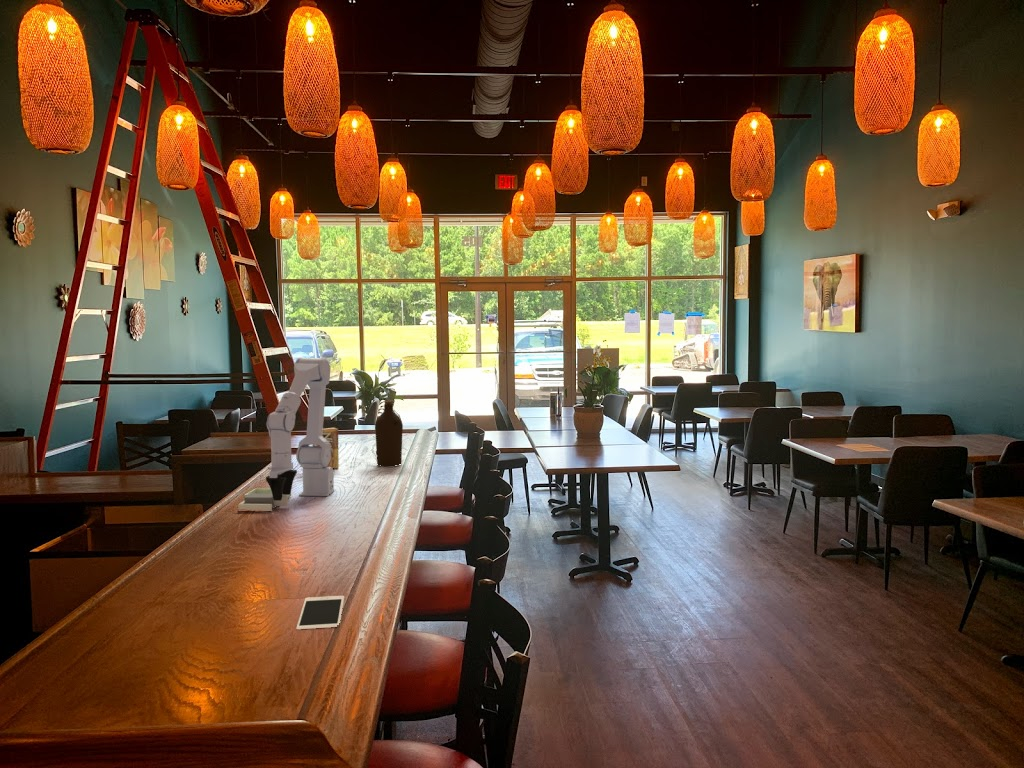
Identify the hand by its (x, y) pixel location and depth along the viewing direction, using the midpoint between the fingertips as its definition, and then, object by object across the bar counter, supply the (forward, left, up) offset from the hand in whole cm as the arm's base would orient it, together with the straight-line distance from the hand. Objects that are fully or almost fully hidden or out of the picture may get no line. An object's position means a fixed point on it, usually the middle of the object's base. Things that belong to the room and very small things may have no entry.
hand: (282, 497), depth 229 cm
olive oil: (-18, -70, -4) cm, 72 cm away
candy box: (+4, -60, -4) cm, 60 cm away
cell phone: (-36, +79, -4) cm, 87 cm away
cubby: (+6, 0, -4) cm, 7 cm away
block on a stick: (+5, -1, -4) cm, 6 cm away
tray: (+8, -11, -4) cm, 14 cm away
